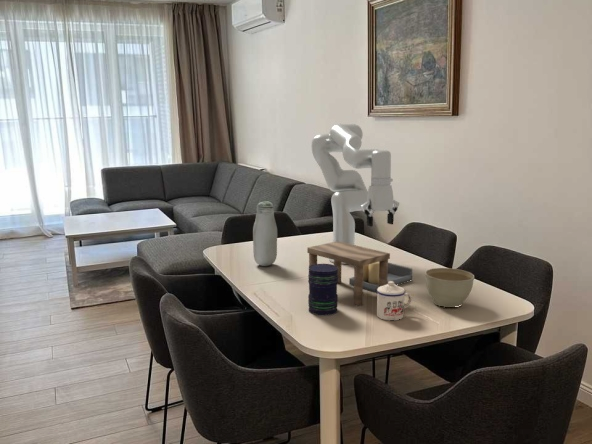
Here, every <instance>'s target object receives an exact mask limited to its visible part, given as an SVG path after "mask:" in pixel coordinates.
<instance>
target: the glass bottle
mask: <svg viewBox="0 0 592 444" xmlns="http://www.w3.org/2000/svg"><path fill="white" fill-rule="evenodd" d="M274 211H275V207H274V204H273V203H272V202H271V201H266V200H265V201H261V202H259V203H257V205H256V214H255V219H254V220H255V221H254V222H253V226H252V243H253V244H252V245H253V259H254V262H255V263H256V264H257V265H259V266H262V267H267V266H268V267H269V266H272V265H273V264H274V263H275V262H276V260H277V255H278V227H277V223H276V219H275V212H274Z"/></svg>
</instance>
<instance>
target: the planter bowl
mask: <svg viewBox="0 0 592 444" xmlns="http://www.w3.org/2000/svg"><path fill="white" fill-rule="evenodd" d="M474 280H475V274H473V273H472V272H470V271H467V270H462V269H458V268H451V267H435V268H431V269H427V270H426V271H425V282H426V288H427V291H428V293H429V295H430V297H431V298H432V299H433V304H434V303H435V304H434V305H435V306H437V305H439V306H438V307H440V306H444V307H443V308H445V307H455V306H459V305H461V304H462V305H463V303H464V302H465V301H466V299H468V297H469V295H470V294H471V291H472V289H473V284H474Z"/></svg>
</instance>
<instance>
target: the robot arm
mask: <svg viewBox="0 0 592 444" xmlns="http://www.w3.org/2000/svg"><path fill="white" fill-rule="evenodd" d="M363 134H364V133H363V129H362V127H360V125H358V124H355V123H354V124H353V123H343V124H342V123H340V124H335V125H333V126H332V127H331V128H330V129H329V133H321V134H318V135H315V136H314V137H313V139H312V140H311V153H312V156H313V158H314V160H315V161H316V164H317V166H318V167H319V168H320V170H321V172H322V175H323V178H324V180H325V182H326V184H327V188H328V189H329V190H330V191H331V192H334V193H333V194H332V195H331V199H330V201H331V208H332V216H333V217H332V225H333V227H332V230H333V231H332V234H333V235H332V238H333V239H332V242H336V241H339V242H344V243H348V244H352V245H355V240H356V239H355V234H356V233H355V232H356V231H355V229H356V223H355V222H356V221H355V218H354V217H353V216H352V214H351V213H352V212H358V211H359V212H361V211H362V212H363V214H365V216H366V225H367V227H373V225H374V218H373V216H372V215H374V213H375V212H385V211H387V217H386V219H387V220H386V222H387V224H388V225H394V215H395V214H396V212H397V211H398V208H399V206H400V202H398V201H396V200H395V199H394V191H393V186H392V182H393V181H394V180H393V178H391V173H392V172H391V171H392V154H391V151H389V150H384V149H383V150H382V149H379V148H371V149H364V148H363V149H362V142H363V141H362V139H363ZM330 153H341V154H342V158H343V160H344V161H345V162H346V164H348V165H349V166H351V167H352V168H354V169H342V167H341V165H340V163H339V161H338V160H337V159H336V157H334V156H333V155H332V154H330ZM355 169H370V173H371V175H370V178H371V179H370V180H371V182H370V185H369V186H368V189H367V187H366V185H365V182H364V180H363V178H362V175H361V174H360V173H359V172H358V171H357V170H355ZM328 259H329V258H328ZM329 261H330V262H331V263H333V264H334V260H332V259H329ZM346 264H347V263H343V262H342V265H346ZM347 265H348V264H347Z"/></svg>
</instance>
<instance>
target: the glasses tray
mask: <svg viewBox="0 0 592 444" xmlns="http://www.w3.org/2000/svg"><path fill="white" fill-rule="evenodd" d="M348 279H349V281H348V282H349V284H348V285H350V286H353V287H354V276H353V277H349V278H348ZM410 280H412V281H413V268H412V267H408V266H404V265H400V264H397V263H391V262H388V277H387V284H388V282H389V281H393V282H394V284H395V285H397V284H400V285H402V284H401V283H403V284H405V283H404V282H407V281H410ZM410 282H411V281H410ZM407 283H408V282H407ZM397 286H398V285H397ZM378 288H379V262H376V263H372V264H368V265H364V266H363V290H366V291H369V292H372V291H373V293H377V289H378Z"/></svg>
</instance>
